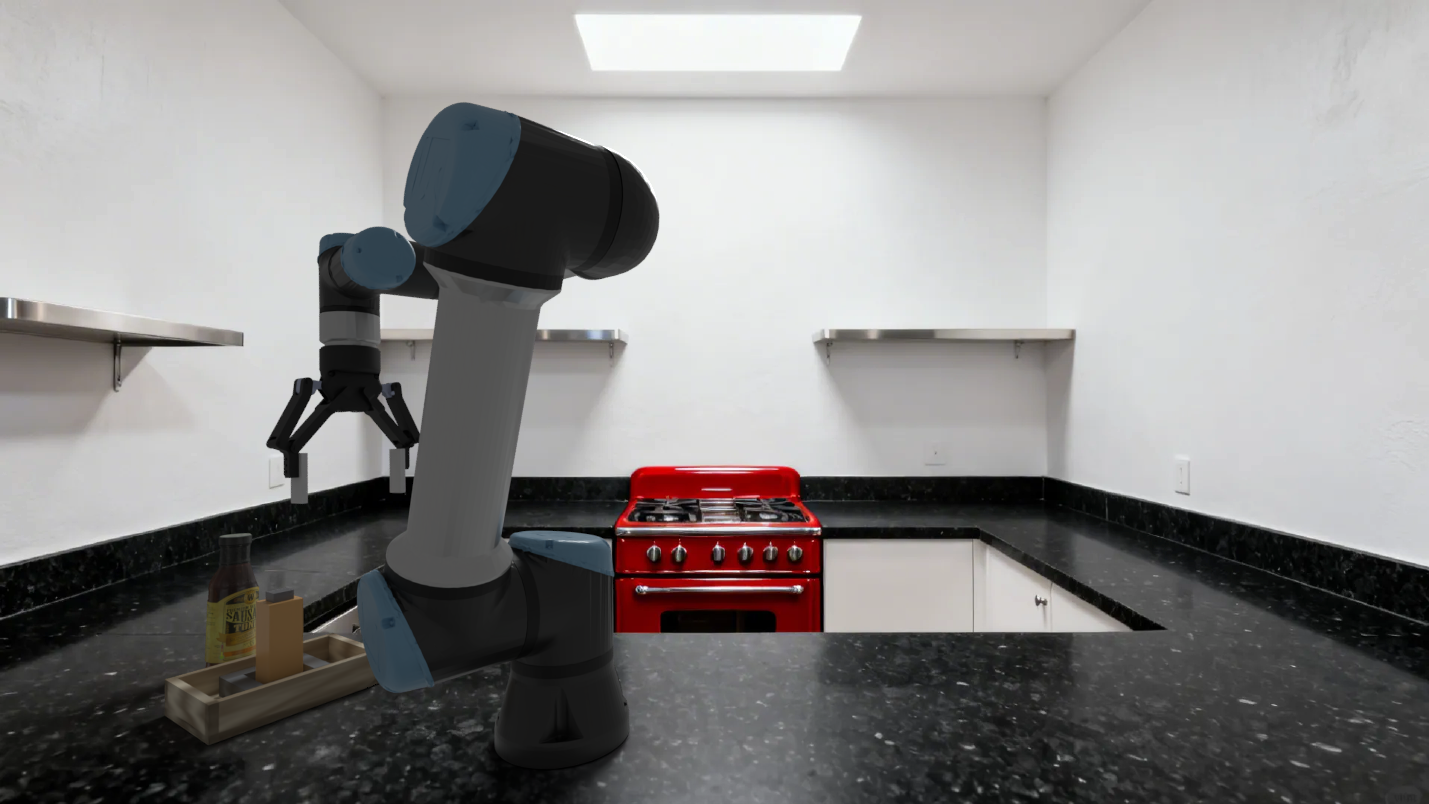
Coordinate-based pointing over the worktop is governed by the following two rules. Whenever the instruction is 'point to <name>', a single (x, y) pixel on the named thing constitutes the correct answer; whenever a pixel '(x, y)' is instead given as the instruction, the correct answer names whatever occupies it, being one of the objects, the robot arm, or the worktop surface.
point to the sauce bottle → (232, 603)
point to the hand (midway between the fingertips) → (351, 497)
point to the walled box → (265, 689)
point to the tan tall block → (279, 635)
